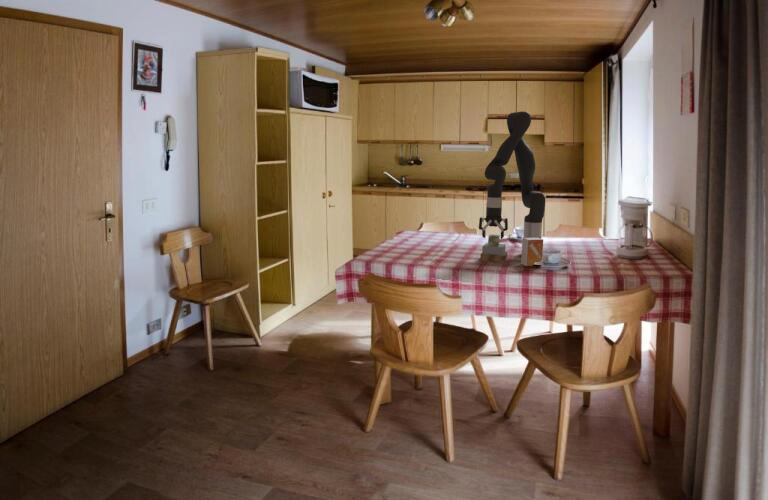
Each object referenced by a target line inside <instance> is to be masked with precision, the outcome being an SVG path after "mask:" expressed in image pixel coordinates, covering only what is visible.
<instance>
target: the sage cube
mask: <svg viewBox="0 0 768 500" xmlns="http://www.w3.org/2000/svg"><path fill="white" fill-rule="evenodd" d="M487 238H488V241H487V243H488V246H499V244H500V240H501V234H489V235H488V237H487Z"/></svg>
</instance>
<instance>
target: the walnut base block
mask: <svg viewBox="0 0 768 500" xmlns="http://www.w3.org/2000/svg"><path fill="white" fill-rule="evenodd" d="M479 257H480V258H479V259H480V261H479V262H483V263H484V262H486V263H499V264H500V263H503V264H505V263H506V261H507V259H508V251H505V253H504V254H503V255H489V254H482V252H481V253H480V256H479Z"/></svg>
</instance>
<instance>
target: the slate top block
mask: <svg viewBox="0 0 768 500" xmlns="http://www.w3.org/2000/svg"><path fill="white" fill-rule="evenodd" d="M506 246H507V245H506V244H505V243H499V246H488V242H485V244H483V245H482V247H481V248H482V251H481V253H482V254H489V255H503V254H504V253H505V252H506Z"/></svg>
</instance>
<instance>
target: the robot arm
mask: <svg viewBox="0 0 768 500" xmlns="http://www.w3.org/2000/svg"><path fill="white" fill-rule="evenodd" d="M506 117H507V118H506V126H507V129H508V133H509V136H508V137H507V138H506V139H505V140H504V141H503V142H502V144H501V145H500V146H499V147H498V150H497V152H496V154H495V156H494V158H493V159H492V160H490V162H489V163H488V165H486V167H485V170H484V177H485V179H487V181H494V183H493V184H491V185H488V186H487V193H486V195H487V197H486V204H485V206H486V209H485V217H483V216H480V218H479V219H478V220H479V223H478V229H479V230H480V231H481V232H482V233H481V235H482V238H483V239H486V234H487V233H486V229H487V228H488V227H491V228H492V227H494V228H496V227H497V228H499V230H500V240H503V239H504V236H505V231H508V229H509V225H508V224H509V222H508V221H509V220H508V218H507V217H505V218H502V208H503V207H502V206H503V205H502V204H503V199H502V195H503V187H504V183H505V181H506V178H507V177H506V176H507V171H506V168H505V167H504V166H507V165H508V163H509V162H510V159H511V157H512V155H513V153H514V158H515V162H516V167H517V171H518V172H517V173H518V177H519V178H518V179H519V183H520V192H521V201H522V204H523V205H524V207H525V208H527V209H529V212H528V214H527V215H525V216H524V219H523V224H524V225H523V237H522V239H523V238H540V239H543V238H542V231H543V229H542V227H543V218H544V217H545V211H546V210H545V209H546V197H545V194H544V193H543V192H540V191H536V190H535V188H534V174H535V172H536V161H535V155H534V152H533V150H532V149H531V147H530V146H529V145H528V144H527V142H526V141H525V139H524V138H523V137H524V135H525V134H526V132H527V131H528V130H529V128H530V126H531V123H532V116H531V114H530V113H529V112H528V111H526V110H525V111H515V112H514V111H513V112H510V113H509V114H508V115H507V116H506ZM484 221H485V222H486V223H485V225H484V227H483V222H484ZM502 222H503V224H504V227H503V225H502V224H501V223H502Z"/></svg>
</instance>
